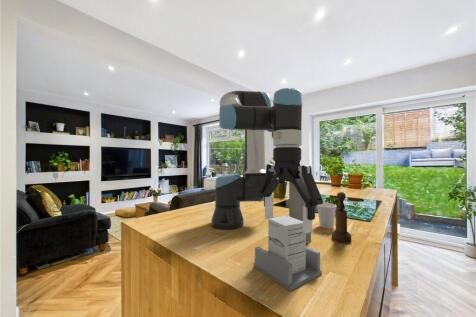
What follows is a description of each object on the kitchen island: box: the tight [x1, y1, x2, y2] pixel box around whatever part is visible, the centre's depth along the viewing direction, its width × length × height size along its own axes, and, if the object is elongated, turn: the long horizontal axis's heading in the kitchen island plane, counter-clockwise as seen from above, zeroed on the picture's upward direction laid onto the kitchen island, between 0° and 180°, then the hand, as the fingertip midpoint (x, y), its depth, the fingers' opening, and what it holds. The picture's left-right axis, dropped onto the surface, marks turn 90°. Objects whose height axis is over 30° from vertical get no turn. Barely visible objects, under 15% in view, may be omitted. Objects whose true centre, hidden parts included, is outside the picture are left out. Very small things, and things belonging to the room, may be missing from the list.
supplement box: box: [267, 215, 307, 274], centre depth 54 cm, size 7×7×13 cm
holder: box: [253, 246, 323, 292], centre depth 54 cm, size 13×12×6 cm
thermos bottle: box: [288, 173, 312, 244], centre depth 77 cm, size 8×8×28 cm
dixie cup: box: [316, 202, 338, 229], centre depth 92 cm, size 8×8×10 cm
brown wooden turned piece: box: [331, 191, 352, 244], centre depth 77 cm, size 7×6×18 cm
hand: (286, 224), depth 55 cm, fingers open, 13 cm apart
